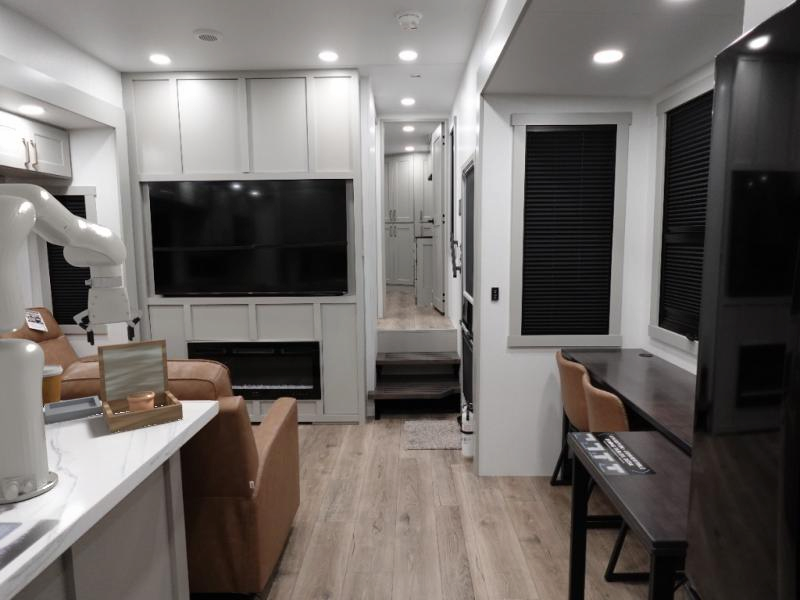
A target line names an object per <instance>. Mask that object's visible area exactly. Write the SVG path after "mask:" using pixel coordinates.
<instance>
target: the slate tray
mask: <svg viewBox="0 0 800 600" xmlns="http://www.w3.org/2000/svg"><path fill="white" fill-rule="evenodd" d="M100 400H101V399H99V395H92V396H88V397H87V396H86V397H80V398H73V399H67V400H60V402H54V403H48V404H44V405H45V407H44V418H45V425H48V424H47V423H51V424H54V423H53V422H57V423H61V421H62V422H67V421H66V420H68V421H72V419H74V420H78V419H77V418H79V419H82V418H81V417H85V418H89V417H88V416H90V417H93V416H92V415H96V414H101V413H102V402H101V401H100ZM96 416H97V415H96Z"/></svg>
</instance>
